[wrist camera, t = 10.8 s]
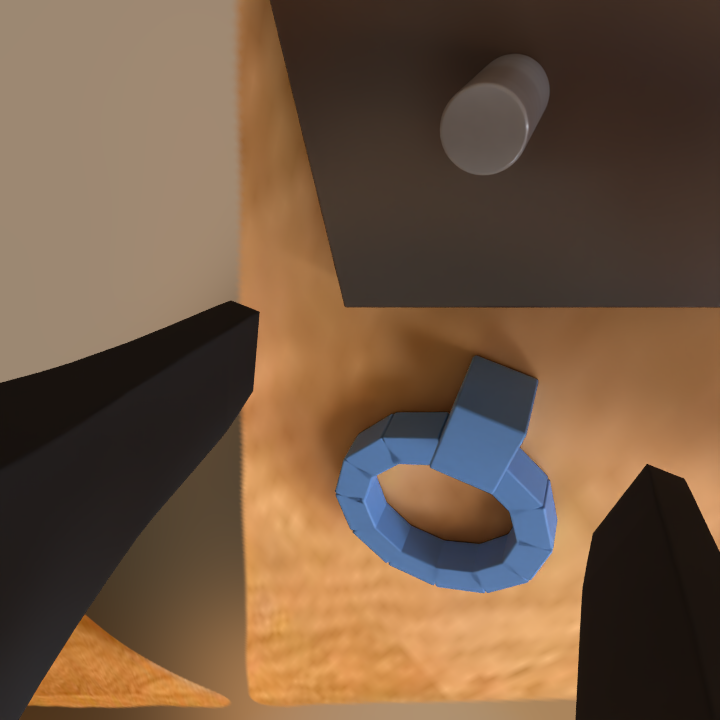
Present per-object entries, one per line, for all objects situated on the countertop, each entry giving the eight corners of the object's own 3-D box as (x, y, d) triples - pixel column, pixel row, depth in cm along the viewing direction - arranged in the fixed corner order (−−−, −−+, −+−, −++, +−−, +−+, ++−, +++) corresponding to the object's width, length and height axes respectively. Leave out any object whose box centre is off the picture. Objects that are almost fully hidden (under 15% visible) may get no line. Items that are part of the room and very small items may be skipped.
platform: (756, 282, 16) (791, 390, 12) (360, 288, 21) (298, 366, 17) (865, -359, 10) (1003, -533, 6) (264, -137, 15) (136, -158, 11)
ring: (509, 588, 28) (497, 647, 25) (336, 509, 29) (310, 558, 27) (633, 415, 20) (632, 478, 18) (389, 320, 21) (359, 366, 19)
